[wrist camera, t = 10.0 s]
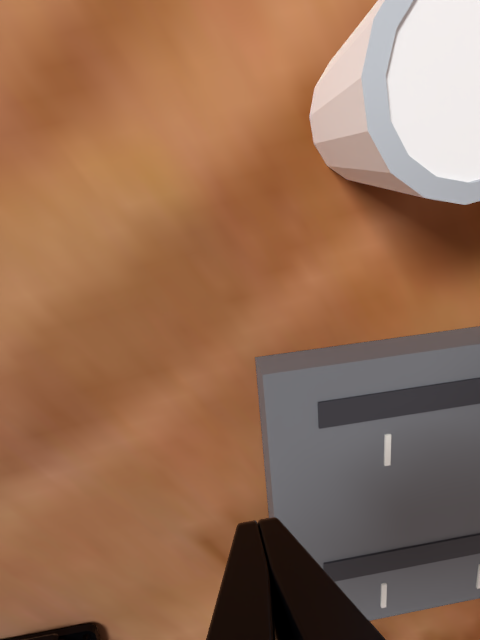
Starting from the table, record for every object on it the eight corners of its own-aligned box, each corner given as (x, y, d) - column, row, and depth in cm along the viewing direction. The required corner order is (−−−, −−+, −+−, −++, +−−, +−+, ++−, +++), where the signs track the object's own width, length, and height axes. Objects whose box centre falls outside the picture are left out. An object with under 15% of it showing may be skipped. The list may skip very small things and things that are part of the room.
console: (621, 537, 28) (654, 564, 26) (276, 605, 26) (284, 640, 24) (683, 298, 23) (731, 309, 21) (255, 357, 21) (263, 376, 19)
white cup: (457, 20, 17) (628, -82, 11) (439, 194, 19) (572, 199, 13) (295, 20, 16) (370, -89, 10) (295, 201, 19) (357, 210, 12)
